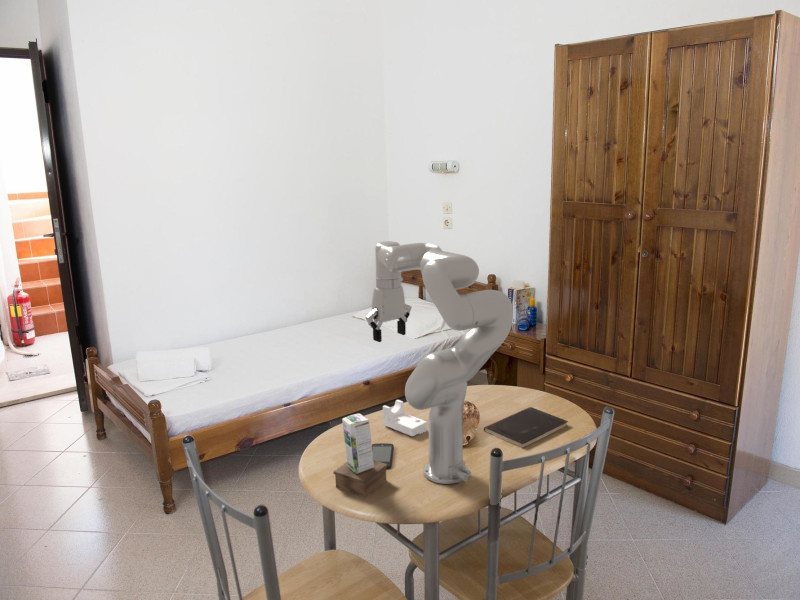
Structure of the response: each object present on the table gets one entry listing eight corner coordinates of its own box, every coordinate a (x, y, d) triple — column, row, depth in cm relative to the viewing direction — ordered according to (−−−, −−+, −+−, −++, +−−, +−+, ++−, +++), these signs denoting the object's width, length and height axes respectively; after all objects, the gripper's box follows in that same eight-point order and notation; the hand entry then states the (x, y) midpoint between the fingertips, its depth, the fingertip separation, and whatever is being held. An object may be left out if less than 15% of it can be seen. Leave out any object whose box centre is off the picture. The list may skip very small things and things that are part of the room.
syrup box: (346, 466, 174) (340, 418, 171) (365, 459, 177) (359, 412, 174) (356, 474, 170) (349, 425, 166) (375, 467, 172) (369, 418, 169)
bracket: (383, 427, 209) (382, 406, 207) (397, 420, 214) (397, 399, 212) (412, 439, 200) (412, 417, 199) (427, 431, 205) (426, 410, 204)
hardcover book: (567, 427, 207) (568, 421, 206) (522, 450, 193) (522, 443, 192) (528, 412, 219) (529, 406, 218) (483, 432, 204) (483, 426, 204)
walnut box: (387, 481, 176) (387, 464, 175) (365, 499, 168) (365, 481, 166) (357, 471, 182) (356, 454, 181) (334, 488, 173) (333, 471, 172)
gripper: (401, 276, 197) (402, 328, 201) (358, 285, 186) (359, 341, 190) (418, 280, 191) (418, 334, 196) (374, 290, 180) (375, 347, 185)
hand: (389, 337), depth 193 cm, fingers open, 9 cm apart
